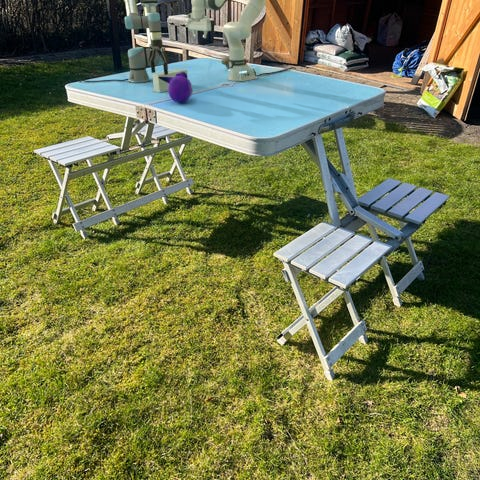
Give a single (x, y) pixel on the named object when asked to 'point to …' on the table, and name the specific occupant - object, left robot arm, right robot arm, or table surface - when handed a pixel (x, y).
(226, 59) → the cream textured rounded piece
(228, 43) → the right robot arm
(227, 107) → the table surface
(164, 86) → the box
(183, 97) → the toy
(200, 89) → the table surface
